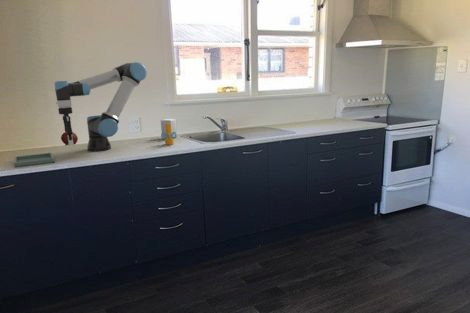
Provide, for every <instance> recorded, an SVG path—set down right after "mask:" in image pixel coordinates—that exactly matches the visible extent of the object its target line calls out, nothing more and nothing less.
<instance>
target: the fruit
mask: <svg viewBox="0 0 470 313" xmlns="http://www.w3.org/2000/svg"><path fill="white" fill-rule="evenodd" d="M66 134H67V132H65V131H64V132H63V133H62V134H61V136H60V140H61V142H62V143H63V144H64V145H65V146H69V143H68V137H67V135H66ZM72 136H73V143H74V145H76V144H77V143H78V140H79V138H78V136H77V134H76V133H75V132H73V131H72Z"/></svg>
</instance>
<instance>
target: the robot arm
mask: <svg viewBox="0 0 470 313" xmlns="http://www.w3.org/2000/svg"><path fill="white" fill-rule="evenodd" d="M147 75H148V74H147V68H146V67H145V65H143V64H142V63H141V62H127V63H124V64H121V65H119V66H116V67H113V68H112V69H111V70H108V71H106V72H105V71H104V72H103V73H100V74H95V75H93V76H90V77H86V78H82V79H79V80H77V81H75V82H69V81H67V80H58V81H57V80H56V81H54V91H55V97H56V102H55V104H57V110H58V111H57V112H58V114H59V115H62V120H63V125H64V127H63V128H64V133H65V132H67V134H66V135H67V137H68V143H69V145H68V146H70V147H71V146H75V144H74V143H73V136H72V132H73V129H72V122H71V116H70V115H71V114H73V108H72V105H73V104H72V99H71V97H85V96H89V95H90V93H91V90H93V89H96V88H99V87H103V86H106V85H109V84H112V83H115V82H118V83H119V82H120V85H119V86H118V88H117V90H116V93H115V94H114V96H113V97H112V100H111V102H110V103H109V105H108V106H107V109H106V110H105V111H104V112H101V114H100V115H91V116H87V117H86V124H87V131H88V142H87V143H88V144H87V151H88V152H103V151H109V150H111V148H112V145H111V142H110V140H109V138H110V137H113V136H114V135H116V134H117V133H118V131H119V123H120V119H119V117H120V116H121V113H122V111H124V107H125V106H126V104H127V102H128V100H129V99H130V97H131V94H132V92H134V89H135V88H136V87H138V86H139V85H140V83H141V81H143V80H145V79H146V77H147ZM69 114H70V115H69ZM108 137H109V138H108Z"/></svg>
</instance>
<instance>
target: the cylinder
mask: <svg viewBox="0 0 470 313" xmlns="http://www.w3.org/2000/svg"><path fill="white" fill-rule="evenodd" d="M165 127H166V133H165V132H163V133H162V132H161V134H160V135H161V136H160V137H161V139H162V140H164V144H165V146H173V145H174V143H175V142H174V139H177V138H178V133H177V134H176V132H172V131H171V123H166V124H165ZM163 134H165V135H166V136H165V137H163ZM172 134H175V136H174V137H173V136H172ZM176 137H177V138H176ZM173 138H174V139H173Z"/></svg>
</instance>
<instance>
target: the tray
mask: <svg viewBox="0 0 470 313" xmlns="http://www.w3.org/2000/svg"><path fill="white" fill-rule="evenodd" d="M13 163H14V168H23V167H30V166H37V165H46V164H53V163H55V158H54V155H53V153H52V152H46V153H35V154H28V155H18V156H14V162H13Z"/></svg>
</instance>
